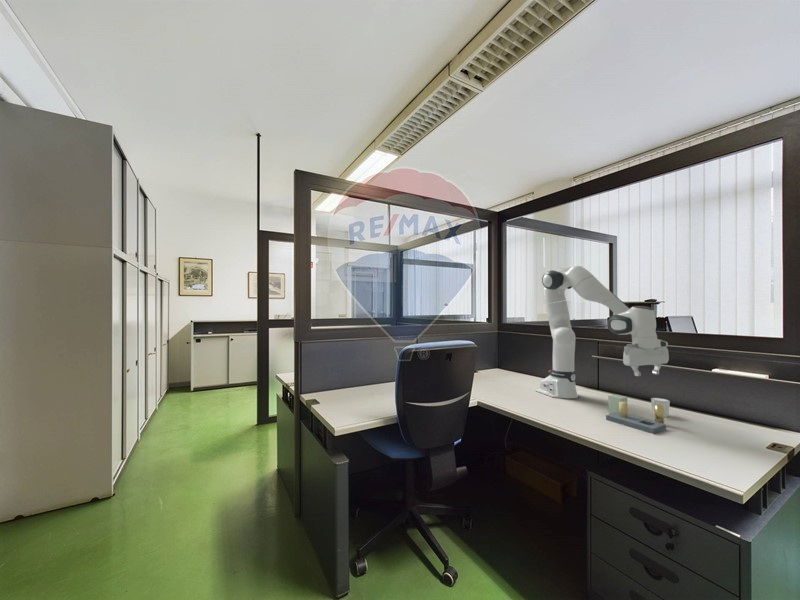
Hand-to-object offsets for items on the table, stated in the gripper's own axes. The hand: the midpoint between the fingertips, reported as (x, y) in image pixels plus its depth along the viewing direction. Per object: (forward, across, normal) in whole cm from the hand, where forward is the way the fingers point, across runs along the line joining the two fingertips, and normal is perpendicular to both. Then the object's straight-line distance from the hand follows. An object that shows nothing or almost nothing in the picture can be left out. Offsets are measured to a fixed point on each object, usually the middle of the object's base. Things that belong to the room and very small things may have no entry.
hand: (646, 375), depth 140 cm
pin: (+21, +2, -2) cm, 21 cm away
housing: (+20, -3, +13) cm, 24 cm away
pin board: (+20, -8, 0) cm, 22 cm away
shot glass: (+21, +14, +8) cm, 27 cm away
